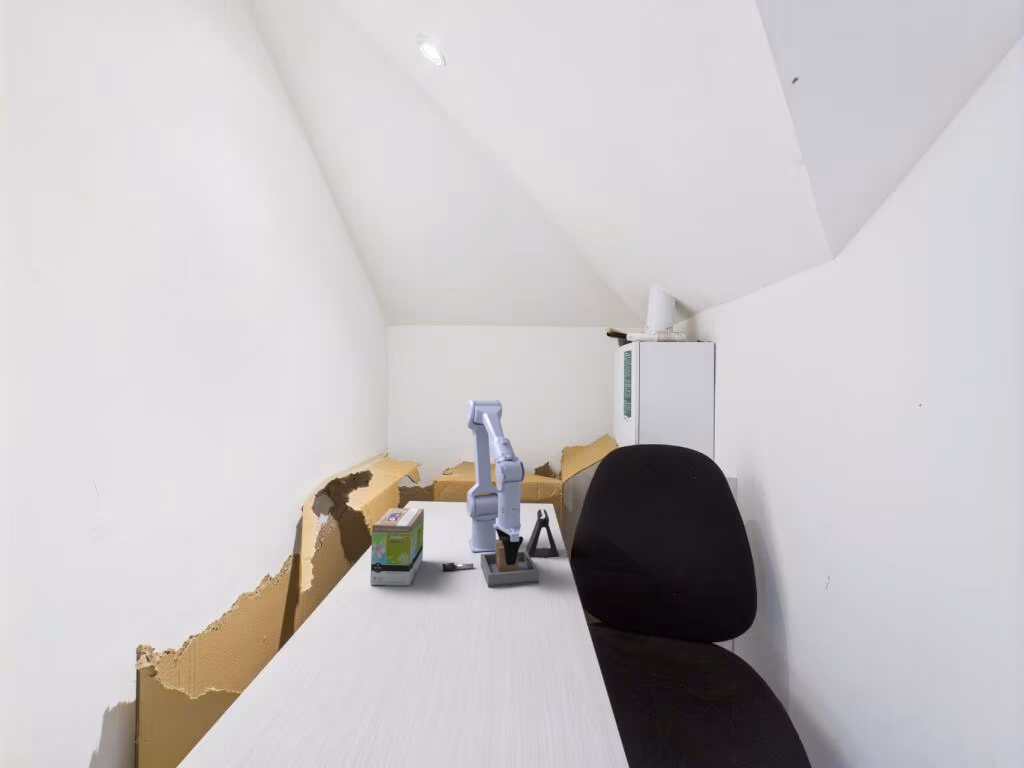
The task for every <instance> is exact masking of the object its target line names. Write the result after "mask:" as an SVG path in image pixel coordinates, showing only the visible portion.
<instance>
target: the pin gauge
mask: <svg viewBox="0 0 1024 768" xmlns="http://www.w3.org/2000/svg"><path fill="white" fill-rule="evenodd" d="M467 569H474V563H461V564H455V562H446V563H445V562H444V563H442V572H443V571H444V572H445V571H446V572H447V571H457V570H467Z"/></svg>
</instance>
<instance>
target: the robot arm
mask: <svg viewBox="0 0 1024 768" xmlns="http://www.w3.org/2000/svg"><path fill="white" fill-rule="evenodd" d="M465 413H466V414H465V415H466V416H465V417H466V418H465V419H466V425H467V426H466V427H467V428H469V429H470V430H471V431H472V441H473V459H474V461H473V462H474V476H475V477H474V478H475V479H474V480H475V484H474V485H473V486H472V487H471V488H470V489H468V491H467V493H466V504H465V507H466V512H467V515H468V516H469V518H471V538H468V543H469V547H470V550H471V552H472V553H480V552H490V551H491V552H492V551H493V552H494V551H495V541H497V537H498V539H499V540H498V541H502V543H503V546H504V551H505V559H506V563H507V565H514V564H515V562H516V559H517V554H518V551H520V547H521V545H522V544H523V542H524V537H523V536H522V535H521V536H520V531H521V529H522V524H521V484H522V482H523V481H524V480H525V477H526V476H525V474H526V472H525V471H526V469H525V465H524V462H523V460H521V459H520V458H519V456H516V455H515V451H514V448H513V446H512V444H511V441H510V439H509V438H507V437H505V434H504V430H503V427H502V423H501V420H502V415H503V405H502V402H501V401H500V400H499V399H495V400H491V399H490V400H488V399H487V400H486V399H484V400H483V399H482V400H479V399H478V400H475V399H474V400H473V399H469V400H468V402H467V405H466V408H465ZM490 440H491V443H490ZM490 452H491V453H490ZM491 455H492V458H493V461H494V464H495V469H494V476H495V482H496V485H494V484H493V483H492V470H491V469H492V467H491Z"/></svg>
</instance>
